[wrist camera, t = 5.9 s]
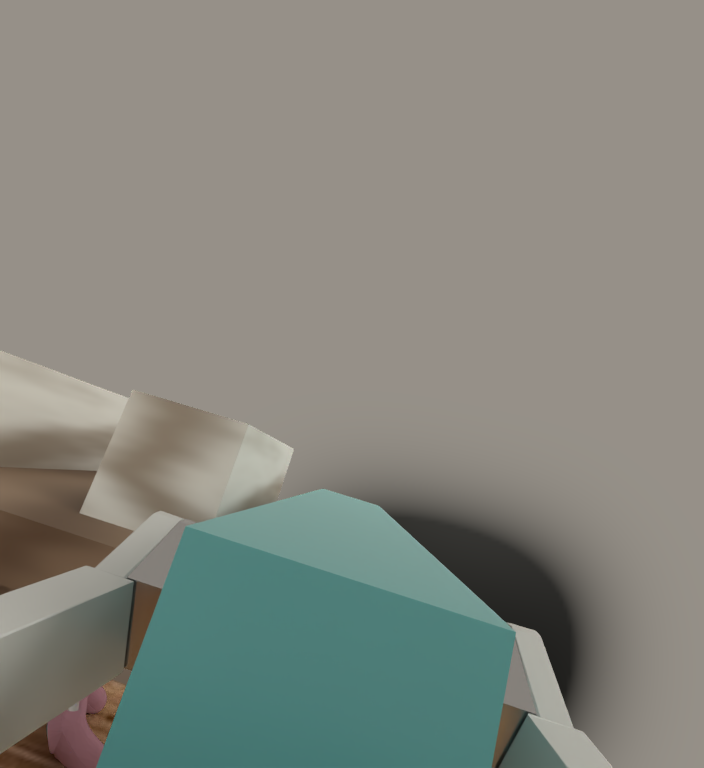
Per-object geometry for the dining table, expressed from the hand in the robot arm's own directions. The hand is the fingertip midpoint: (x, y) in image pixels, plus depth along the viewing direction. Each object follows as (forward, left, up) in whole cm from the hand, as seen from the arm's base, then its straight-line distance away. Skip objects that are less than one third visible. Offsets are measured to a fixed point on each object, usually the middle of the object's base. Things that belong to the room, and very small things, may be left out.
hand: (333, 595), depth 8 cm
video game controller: (+19, -36, -28) cm, 50 cm away
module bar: (0, -9, -2) cm, 9 cm away
